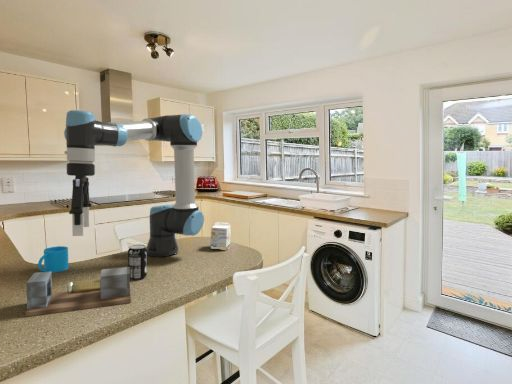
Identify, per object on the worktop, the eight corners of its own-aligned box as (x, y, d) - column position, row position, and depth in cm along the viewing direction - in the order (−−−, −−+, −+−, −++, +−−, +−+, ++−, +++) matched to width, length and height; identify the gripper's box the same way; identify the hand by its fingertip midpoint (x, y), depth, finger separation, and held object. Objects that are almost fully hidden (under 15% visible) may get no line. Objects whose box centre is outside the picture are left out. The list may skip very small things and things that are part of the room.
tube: (125, 285, 104) (125, 274, 103) (125, 289, 100) (125, 278, 100) (69, 291, 98) (69, 280, 97) (67, 296, 94) (67, 284, 94)
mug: (56, 264, 130) (56, 245, 129) (73, 267, 128) (73, 247, 127) (29, 274, 118) (29, 253, 117) (47, 277, 116) (47, 255, 116)
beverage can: (142, 273, 123) (142, 243, 122) (149, 277, 119) (149, 246, 118) (125, 277, 119) (125, 245, 118) (132, 282, 114) (132, 249, 113)
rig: (129, 288, 108) (129, 262, 108) (130, 302, 97) (130, 274, 97) (36, 299, 98) (35, 270, 97) (25, 316, 87) (24, 285, 86)
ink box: (210, 249, 160) (210, 223, 159) (214, 245, 168) (215, 220, 167) (226, 251, 159) (227, 224, 157) (230, 246, 167) (231, 221, 166)
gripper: (73, 162, 106) (74, 224, 108) (57, 162, 83) (59, 240, 85) (98, 163, 109) (98, 223, 111) (89, 163, 86) (90, 239, 88)
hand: (81, 231), depth 98 cm, fingers open, 13 cm apart
